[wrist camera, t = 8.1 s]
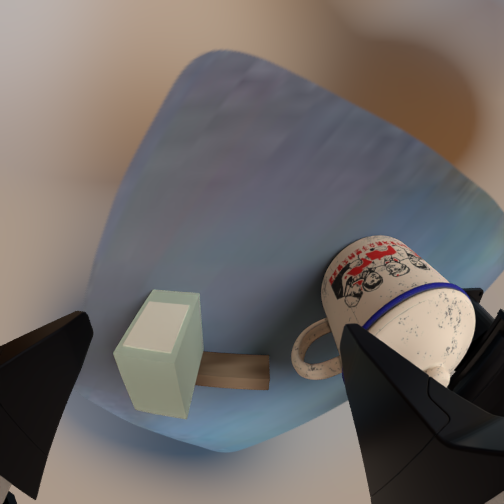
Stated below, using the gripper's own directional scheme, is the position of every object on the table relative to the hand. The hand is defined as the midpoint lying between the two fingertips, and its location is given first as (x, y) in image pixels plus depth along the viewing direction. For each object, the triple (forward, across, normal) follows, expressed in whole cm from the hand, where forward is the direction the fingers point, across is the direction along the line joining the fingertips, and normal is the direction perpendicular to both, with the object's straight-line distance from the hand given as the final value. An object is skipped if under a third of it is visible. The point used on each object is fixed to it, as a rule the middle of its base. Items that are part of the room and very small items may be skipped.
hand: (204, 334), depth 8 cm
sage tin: (+12, +5, +8) cm, 15 cm away
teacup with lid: (+12, -9, +5) cm, 16 cm away
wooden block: (+12, +3, +12) cm, 18 cm away
